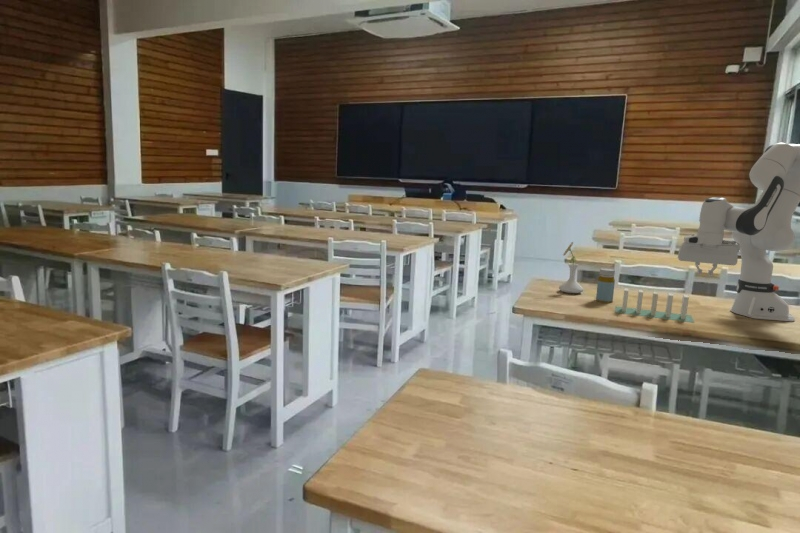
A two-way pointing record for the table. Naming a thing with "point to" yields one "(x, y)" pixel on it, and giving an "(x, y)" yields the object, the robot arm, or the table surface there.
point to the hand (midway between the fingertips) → (704, 274)
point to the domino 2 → (654, 303)
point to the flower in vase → (571, 277)
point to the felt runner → (658, 315)
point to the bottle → (605, 285)
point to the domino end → (625, 299)
